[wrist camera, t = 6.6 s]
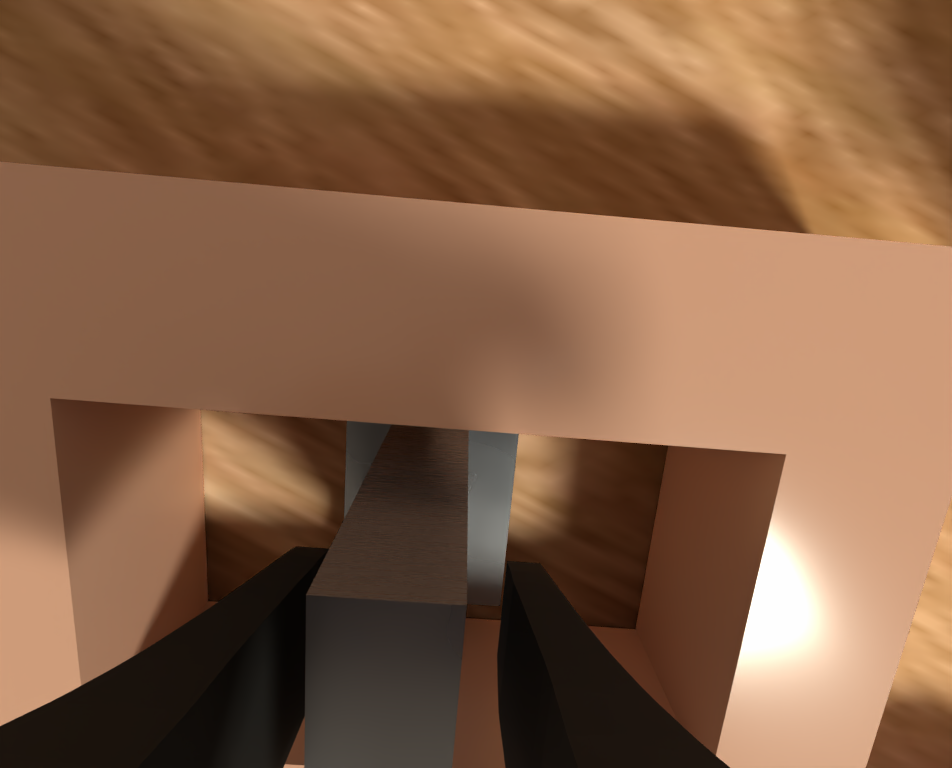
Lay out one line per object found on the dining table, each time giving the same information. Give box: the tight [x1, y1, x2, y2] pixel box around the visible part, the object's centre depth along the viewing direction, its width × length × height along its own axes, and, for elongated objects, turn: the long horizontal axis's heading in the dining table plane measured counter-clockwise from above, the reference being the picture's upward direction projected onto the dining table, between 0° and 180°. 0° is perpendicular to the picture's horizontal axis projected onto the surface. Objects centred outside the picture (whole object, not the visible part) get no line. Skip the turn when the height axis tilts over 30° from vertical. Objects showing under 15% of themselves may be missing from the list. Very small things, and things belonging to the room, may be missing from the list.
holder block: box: [0, 162, 952, 768], centre depth 11 cm, size 18×14×4 cm
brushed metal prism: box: [304, 421, 519, 768], centre depth 9 cm, size 4×5×8 cm
